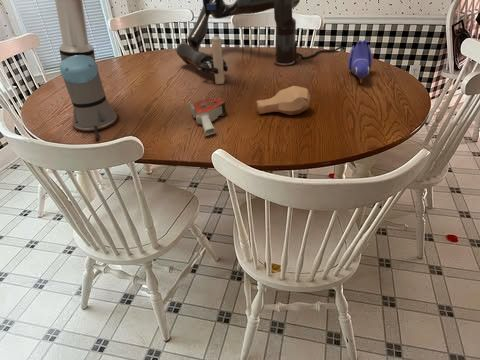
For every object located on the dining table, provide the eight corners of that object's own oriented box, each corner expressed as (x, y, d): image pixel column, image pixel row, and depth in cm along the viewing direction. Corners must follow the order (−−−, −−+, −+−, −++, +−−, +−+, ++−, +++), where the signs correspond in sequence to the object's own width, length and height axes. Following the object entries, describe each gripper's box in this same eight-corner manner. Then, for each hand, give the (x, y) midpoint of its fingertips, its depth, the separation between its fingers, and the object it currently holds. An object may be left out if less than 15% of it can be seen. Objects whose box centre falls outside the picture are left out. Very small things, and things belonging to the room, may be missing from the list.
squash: (314, 116, 128) (313, 95, 122) (259, 125, 130) (256, 105, 124) (308, 99, 136) (307, 78, 129) (257, 108, 138) (253, 88, 131)
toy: (346, 77, 167) (349, 86, 145) (348, 39, 161) (352, 42, 138) (368, 76, 165) (375, 85, 143) (371, 38, 158) (379, 41, 136)
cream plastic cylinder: (219, 84, 158) (215, 39, 146) (213, 82, 160) (209, 38, 149) (226, 82, 160) (223, 37, 148) (220, 80, 162) (216, 36, 151)
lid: (221, 9, 141) (221, 3, 139) (208, 10, 139) (208, 5, 138) (217, 7, 145) (217, 1, 144) (205, 8, 143) (204, 3, 142)
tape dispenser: (210, 142, 120) (241, 115, 132) (208, 128, 116) (241, 102, 129) (170, 128, 127) (203, 104, 139) (167, 115, 124) (202, 91, 136)
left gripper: (234, -55, 128) (237, 15, 142) (195, -54, 137) (202, 12, 150) (222, -53, 123) (226, 19, 137) (182, -52, 132) (190, 15, 145)
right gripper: (216, 65, 171) (236, 74, 160) (190, 72, 165) (208, 82, 154) (214, 49, 167) (235, 58, 155) (188, 56, 161) (207, 65, 149)
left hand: (213, 15), depth 143 cm, fingers closed on lid, 5 cm apart
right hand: (221, 70), depth 155 cm, fingers closed on cream plastic cylinder, 4 cm apart
